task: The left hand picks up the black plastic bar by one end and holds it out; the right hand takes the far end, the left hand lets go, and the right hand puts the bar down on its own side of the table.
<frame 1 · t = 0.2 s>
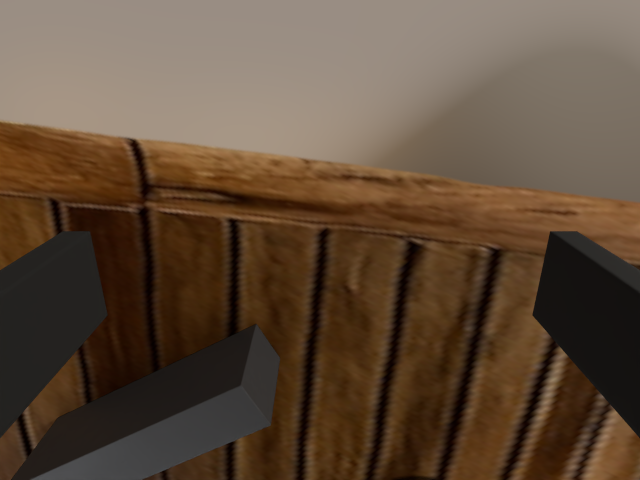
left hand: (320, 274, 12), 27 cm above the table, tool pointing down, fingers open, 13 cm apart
bar: (165, 388, 48), on the table
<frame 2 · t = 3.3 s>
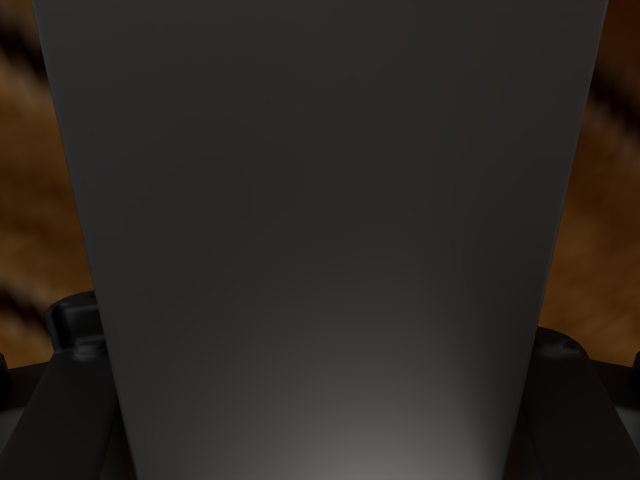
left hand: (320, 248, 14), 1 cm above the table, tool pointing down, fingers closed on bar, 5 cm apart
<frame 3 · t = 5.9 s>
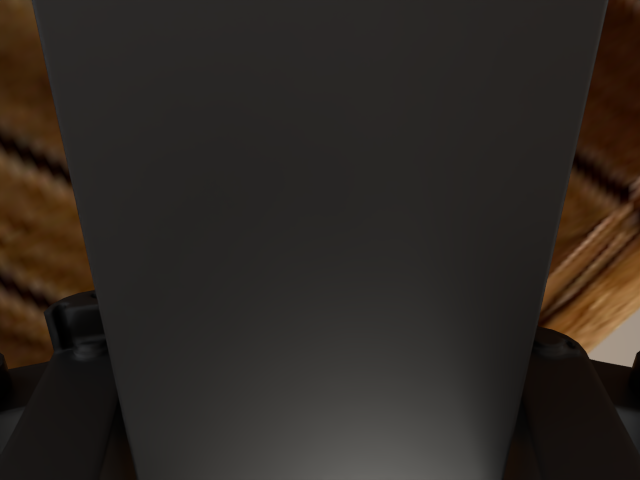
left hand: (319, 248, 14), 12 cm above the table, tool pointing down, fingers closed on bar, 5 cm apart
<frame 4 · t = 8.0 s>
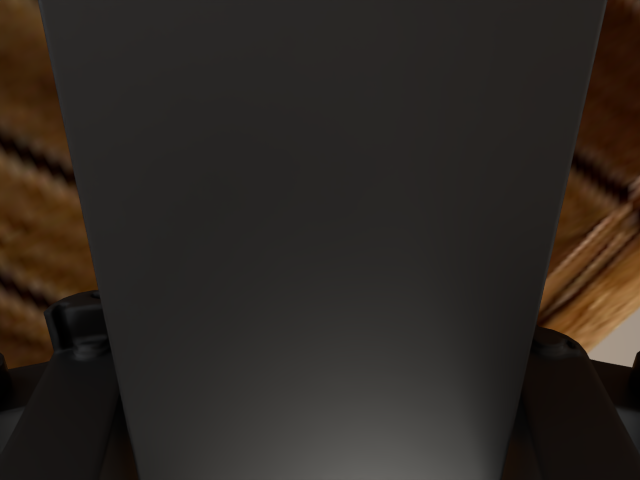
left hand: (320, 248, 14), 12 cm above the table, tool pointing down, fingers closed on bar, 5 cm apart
when the left hand's fingers open (12 cm above the table, at t = 8.7 s): bar stays where it is, held by the right hand.
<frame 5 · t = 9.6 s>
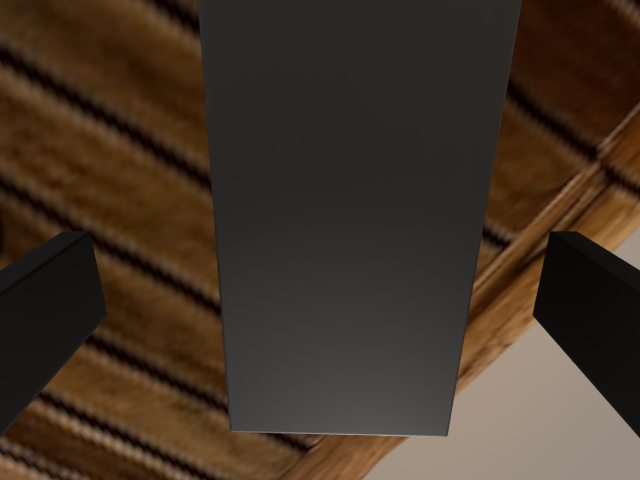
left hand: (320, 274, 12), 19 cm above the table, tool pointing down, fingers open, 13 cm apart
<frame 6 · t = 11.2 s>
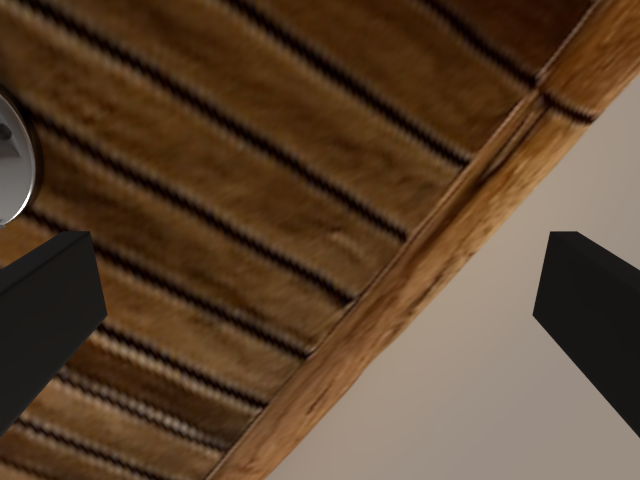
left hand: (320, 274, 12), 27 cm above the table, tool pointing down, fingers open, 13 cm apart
when the right hand's fingers open (6 cm above the table, at t = 14.7 s): bar drops 1 cm, on the table.
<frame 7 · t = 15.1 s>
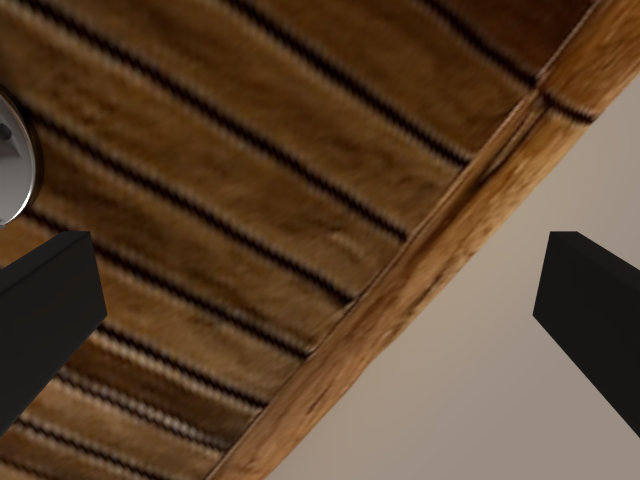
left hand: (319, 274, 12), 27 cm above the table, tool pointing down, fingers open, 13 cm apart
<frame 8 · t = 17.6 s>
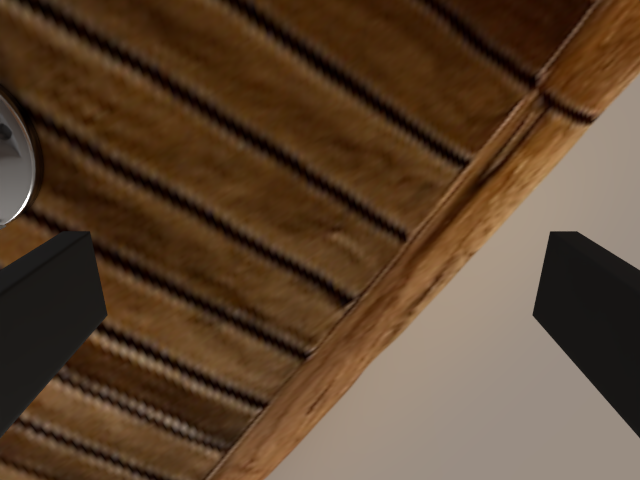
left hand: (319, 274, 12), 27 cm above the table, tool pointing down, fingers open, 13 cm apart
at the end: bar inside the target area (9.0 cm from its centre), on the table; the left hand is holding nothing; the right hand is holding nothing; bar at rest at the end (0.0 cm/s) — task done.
